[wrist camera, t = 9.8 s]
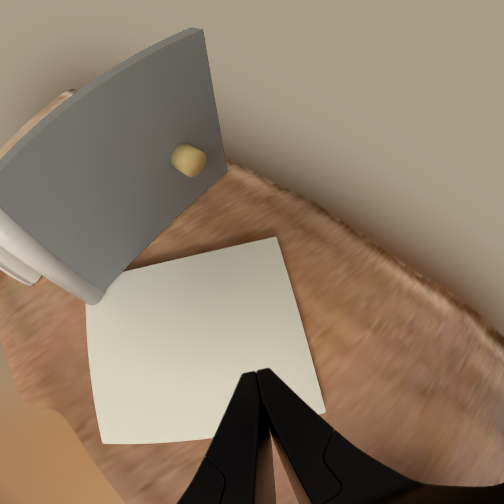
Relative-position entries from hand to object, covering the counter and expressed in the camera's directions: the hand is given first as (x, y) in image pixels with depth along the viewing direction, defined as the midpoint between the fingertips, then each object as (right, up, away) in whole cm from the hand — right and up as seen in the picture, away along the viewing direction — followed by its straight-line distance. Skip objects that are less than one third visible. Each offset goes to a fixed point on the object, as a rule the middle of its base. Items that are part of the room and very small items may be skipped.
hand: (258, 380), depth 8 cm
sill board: (-5, -3, +13) cm, 14 cm away
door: (-8, +5, +15) cm, 18 cm away
